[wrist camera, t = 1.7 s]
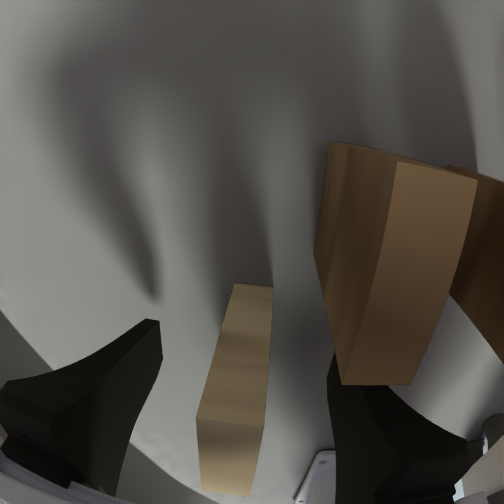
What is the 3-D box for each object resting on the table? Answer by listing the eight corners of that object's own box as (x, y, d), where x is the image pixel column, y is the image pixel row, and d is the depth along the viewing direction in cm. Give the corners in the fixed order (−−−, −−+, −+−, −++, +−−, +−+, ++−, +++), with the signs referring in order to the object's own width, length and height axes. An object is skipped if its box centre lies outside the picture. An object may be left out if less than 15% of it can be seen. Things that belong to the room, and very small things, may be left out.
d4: (454, 270, 12) (543, 370, 6) (425, 267, 12) (511, 375, 6) (477, 172, 11) (601, 224, 4) (448, 164, 11) (575, 213, 4)
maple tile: (263, 366, 15) (249, 496, 8) (229, 363, 15) (202, 490, 8) (273, 287, 13) (264, 426, 7) (234, 283, 13) (195, 417, 7)
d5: (352, 259, 12) (409, 384, 6) (313, 254, 12) (341, 384, 6) (371, 148, 11) (478, 180, 4) (329, 141, 11) (397, 161, 4)
